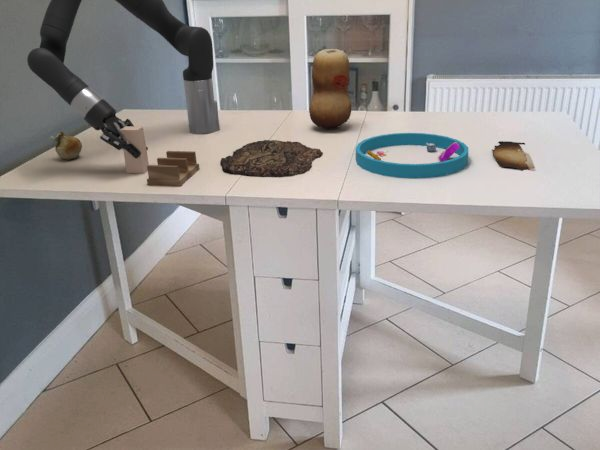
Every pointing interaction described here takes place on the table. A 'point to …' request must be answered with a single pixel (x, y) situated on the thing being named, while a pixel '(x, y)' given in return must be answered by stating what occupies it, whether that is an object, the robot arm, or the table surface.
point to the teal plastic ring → (412, 169)
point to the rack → (173, 169)
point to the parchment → (512, 156)
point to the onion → (67, 146)
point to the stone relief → (270, 159)
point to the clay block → (138, 140)
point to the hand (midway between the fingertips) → (142, 153)
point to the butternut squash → (330, 89)
